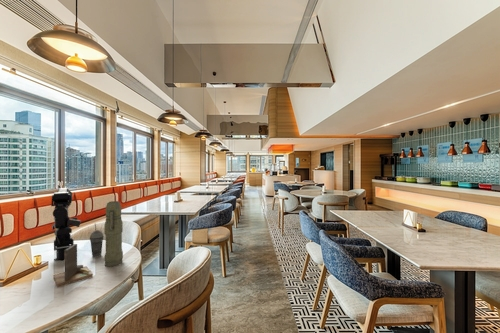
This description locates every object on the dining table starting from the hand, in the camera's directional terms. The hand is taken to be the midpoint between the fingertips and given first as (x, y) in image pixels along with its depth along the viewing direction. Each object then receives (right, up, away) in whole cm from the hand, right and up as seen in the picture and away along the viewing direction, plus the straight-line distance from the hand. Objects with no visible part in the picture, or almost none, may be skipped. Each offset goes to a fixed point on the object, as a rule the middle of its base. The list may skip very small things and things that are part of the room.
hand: (61, 244), depth 123 cm
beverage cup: (+8, -13, +17) cm, 23 cm away
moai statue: (+25, -13, +5) cm, 29 cm away
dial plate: (+14, -13, -11) cm, 22 cm away
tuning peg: (+18, -11, -11) cm, 23 cm away
